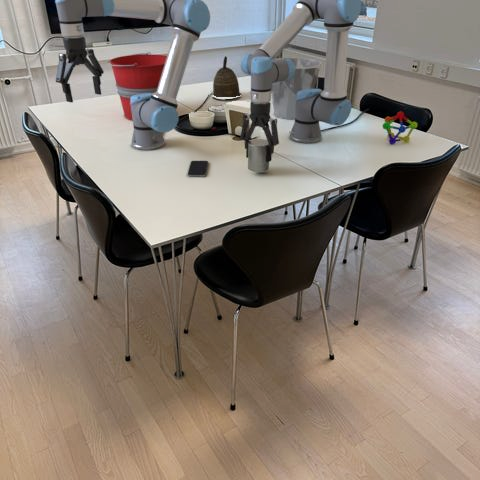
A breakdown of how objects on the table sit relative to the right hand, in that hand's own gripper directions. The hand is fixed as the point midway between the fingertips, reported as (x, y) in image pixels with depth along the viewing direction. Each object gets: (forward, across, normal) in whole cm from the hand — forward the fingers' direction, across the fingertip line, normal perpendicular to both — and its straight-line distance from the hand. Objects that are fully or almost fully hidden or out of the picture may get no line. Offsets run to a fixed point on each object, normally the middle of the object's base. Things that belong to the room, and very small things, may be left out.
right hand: (258, 158), depth 177 cm
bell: (+6, -74, +95) cm, 121 cm away
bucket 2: (+6, -23, +81) cm, 85 cm away
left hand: (-23, -59, -31) cm, 70 cm away
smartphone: (+6, -23, -10) cm, 26 cm away
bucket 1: (+6, -92, +39) cm, 100 cm away
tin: (+4, 0, 0) cm, 4 cm away
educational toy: (+6, +40, +65) cm, 76 cm away
